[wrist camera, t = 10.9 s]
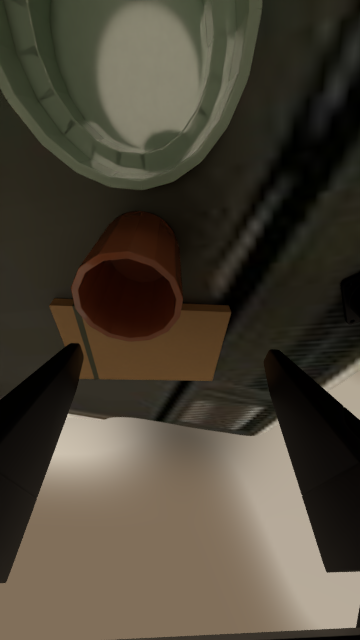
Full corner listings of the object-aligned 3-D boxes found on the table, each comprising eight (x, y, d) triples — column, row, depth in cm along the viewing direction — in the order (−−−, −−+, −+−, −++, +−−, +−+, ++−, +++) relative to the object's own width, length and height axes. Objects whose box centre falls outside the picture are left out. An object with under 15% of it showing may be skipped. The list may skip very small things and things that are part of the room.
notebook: (210, 373, 31) (212, 381, 30) (80, 371, 30) (77, 379, 29) (229, 304, 23) (231, 311, 22) (54, 297, 22) (48, 305, 21)
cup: (192, 261, 20) (201, 316, 14) (135, 293, 22) (121, 353, 16) (151, 192, 16) (139, 226, 10) (87, 238, 18) (46, 289, 12)
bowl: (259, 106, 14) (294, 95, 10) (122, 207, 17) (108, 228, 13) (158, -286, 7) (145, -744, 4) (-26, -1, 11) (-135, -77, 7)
